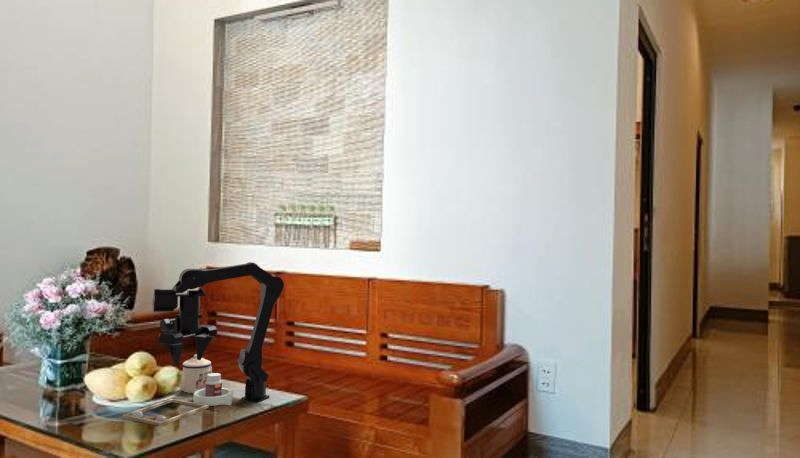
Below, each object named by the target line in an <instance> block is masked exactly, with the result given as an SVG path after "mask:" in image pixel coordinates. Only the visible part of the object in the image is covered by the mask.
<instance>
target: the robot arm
mask: <svg viewBox="0 0 800 458" xmlns="http://www.w3.org/2000/svg"><path fill="white" fill-rule="evenodd" d="M249 276H250V277H251V278H252V279H253V280H255V281H256V282H257V283H259V284H260V303H259V307H258V310H257V314H256V316H255V319H254V324H253V327H252V332H251V335H250V339H249V343H248V345H247V347H246V348H245V349H243V348H240V353H239V357H238V359H237V363H238V368H239V370H240V371H241V373H243V374H244V375H245V377H246V379H245V385H244V396H243V397H240V399H241V400H243V401H250V402H255V403H259V402H261V401H263V400H266V399H268V398H270V396H271V395H268V394H267V393H266V392H267V387H266V386H267V381H268V378H269V374H268V373H267V372H266V371H265V370H264V369H263V368H262V367H263V347H264V343H265V339H266V336H267V332H268V328H269V324H270V321H271V318H272V317H271V316H272V314H273V310H274V306H275V305H276V303H277V301H278V300H279V299H280V297H281V294H282V292H283V291H284V287H285V281H284V280H283V279H282V278H281V277H280V276H277V275H274V274H271V273H269V272H268V271H266V270H265V269H263V268H262V267H260V266H259V265H258V264H257V263H255V262H252V261H250V262H246V263H242V264H236V265H235V264H234V265H230V266H229V265H228V266H222V267H217V268H211V269H210V268H187V269H183V270H182V271H181V272H180V273H179V276H178V277H179V279H178V281H177V282H176V284H174V286H173V287H172V288H171V289H170V288H169V289H166V288H165V289H161V288H153V289H154V290H153V297H152V300H151V301H152V303H151V305H152V313H172V312H174V311H175V310H176V309H177V308H178V305H179V308H178V309H179V311H178V313H177V314H175V317H174V319H173V320H170V319H169V318H165V319H164V318H163V319H161V320H160V322H159V328H160V330H161V331H162V332H161V333H159V335H158V338H157V339H158V343H159V344H161V345H162V346H165V347H166V348H167V349H168V351H169V354H170V356H171V359H172V361H173V364H174V366H175V367H179V366H180V362H181V358H182V355H183V349H184V343H183V341H184V339H187V338H192V337H193V339H194V340H195V342H196V354H197V360H201V358H203V357H204V354H205V353H206V350H207V348H208V347H209V345H210V344H211V342H212V341H213V339H215V336H217V335H218V328H217V327H216V326H215V325H211V324H210V325H208V324H201V325H200V319H201V318H203V313H200V305H201V304H200V301H201V298H200V297H206V296H208V295H207V293H206V292H205V290H204V289H203V288H202V287H204V286H206V285H208V284H211V283H214V282H219V281H225V280H230V279H237V278H242V277H249ZM186 291H187V292H186ZM163 331H164V332H163Z"/></svg>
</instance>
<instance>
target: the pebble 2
mask: <svg viewBox="0 0 800 458" xmlns="http://www.w3.org/2000/svg"><path fill="white" fill-rule="evenodd" d="M164 420H167V417H166V416H165V415H158V416H157V417H156V418H155V419H154V421H159V422H162V421H164Z"/></svg>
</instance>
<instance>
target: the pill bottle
mask: <svg viewBox="0 0 800 458" xmlns="http://www.w3.org/2000/svg"><path fill="white" fill-rule="evenodd" d="M221 378H222V374H221V373H218V372H216V373H215V372H212V373H211V374H208V375H207V381H206V387H205V397H215V396H221V395H222V388H223V381H222V380H221Z"/></svg>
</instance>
